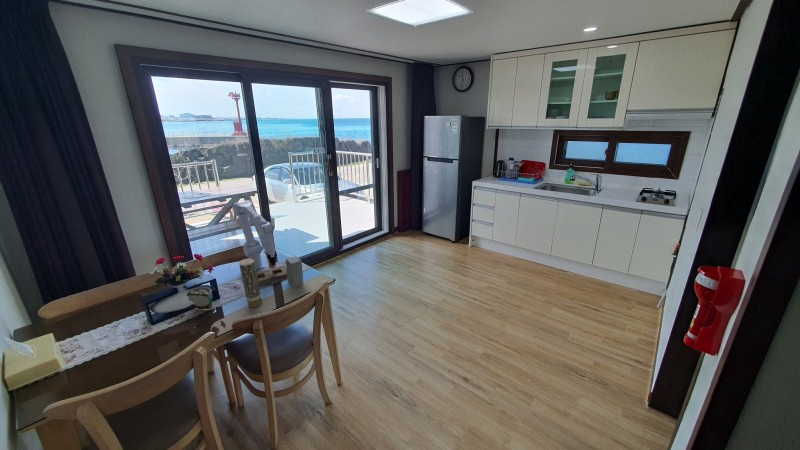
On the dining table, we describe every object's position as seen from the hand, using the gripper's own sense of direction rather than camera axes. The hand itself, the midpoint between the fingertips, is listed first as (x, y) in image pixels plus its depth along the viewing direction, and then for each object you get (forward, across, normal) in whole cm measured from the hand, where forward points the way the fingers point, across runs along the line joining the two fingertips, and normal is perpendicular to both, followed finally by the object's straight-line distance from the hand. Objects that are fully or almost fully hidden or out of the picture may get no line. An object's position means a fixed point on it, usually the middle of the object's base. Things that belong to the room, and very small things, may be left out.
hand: (272, 263), depth 185 cm
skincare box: (+9, +15, +9) cm, 20 cm away
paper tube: (+9, +24, -15) cm, 30 cm away
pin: (+2, 0, 0) cm, 2 cm away
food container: (+9, +12, -37) cm, 40 cm away
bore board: (+9, 0, -3) cm, 9 cm away
